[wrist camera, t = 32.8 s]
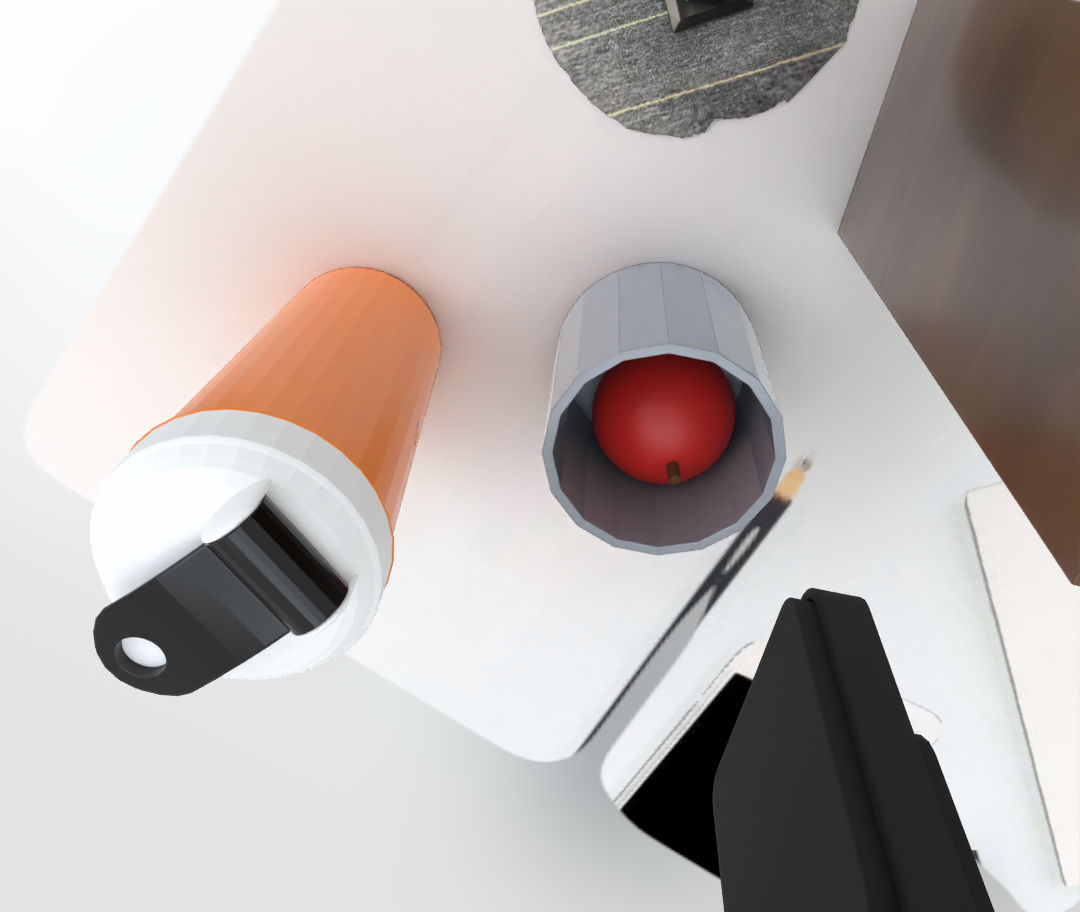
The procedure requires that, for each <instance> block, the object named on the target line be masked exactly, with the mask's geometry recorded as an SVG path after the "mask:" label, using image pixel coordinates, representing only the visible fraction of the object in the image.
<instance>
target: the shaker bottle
mask: <svg viewBox="0 0 1080 912" xmlns="http://www.w3.org/2000/svg"><path fill="white" fill-rule="evenodd" d="M440 353H441V342H440V336H439V330H438V327H437V325H436V322H435V319H434V317H433V315H432V313H431V311H430V310H429V308H428V307H427V305H426V303H425V302H424V301H423V300H422V299H421V297H420V296H419V295H418V294H417V293H416V292H415V291H414V290H413V289H411V288H410V287H409V286H408V285H406V284H405V283H404V282H402V281H401V280H399V279H397V278H395V277H393V276H391V275H389V274H387V273H384V272H380V271H377V270H374V269H368V268H359V267H353V268H341V269H337V270H334V271H330V272H327V273H325V274H323V275H321V276H319V277H317V278H315V279H314V280H312V281H311V282H310V283H309V284H308V285H307V286H305V287H304V288H303V289H302V290H301V291H300V292H299V293H298V294H297V295H296V296H295V297H294V298H293V299H292V300H291V301H290V302H289V303H288V304H287V305H286V306H285V307H284V308H283V309H282V310H281V311H280V312H279V313H278V314H277V315H276V316H275V317H274V318H273V319H272V320H271V321H270V322H269V323H268V324H267V325H266V326H265V327H264V328H263V329H262V330H261V331H260V332H259V333H258V334H257V335H256V336H255V337H254V338H253V339H252V340H251V341H250V342H249V343H248V344H247V345H246V346H245V347H244V348H243V349H242V350H241V351H240V352H239V353H238V354H237V355H236V356H235V357H234V358H233V359H232V360H231V361H230V362H229V363H228V364H227V365H226V366H225V367H224V368H223V369H222V370H221V371H220V372H219V373H218V374H217V375H216V376H215V377H213V378H212V379H211V380H210V381H209V382H208V383H207V384H206V385H205V386H204V387H203V388H202V389H201V390H200V391H199V392H198V393H197V394H196V395H195V396H194V397H193V398H192V399H191V400H190V401H189V402H188V403H187V404H186V405H185V406H184V407H183V408H182V409H181V410H180V411H179V412H178V413H177V414H176V415H175V416H174V417H173V418H171V419H169V420H167V421H165V422H164V423H162V424H160V425H158V426H156V427H154V428H153V429H151V430H150V431H149V432H148V433H147V434H146V435H145V436H143V437H142V438H141V439H140V440H139V441H138V442H136V443H135V445H134V446H133V447H132V449H131V450H130V452H129V453H128V455H127V456H126V457H125V458H124V459H123V460H122V461H121V463H120V464H119V465H118V466H117V467H116V468H115V469H114V470H113V472H112V473H111V474H110V476H109V477H108V479H107V480H106V482H105V483H104V485H103V486H102V488H101V489H100V490H99V492H98V495H97V498H96V501H95V504H94V507H93V510H92V513H91V526H90V540H91V546H92V552H93V558H94V562H95V564H96V567H97V570H98V573H99V576H100V578H101V580H102V583H103V585H104V588H105V591H106V593H107V595H108V597H109V599H110V600H111V602H112V603H111V604H110V605H108V606H107V607H105V608H104V609H103V610H102V611H101V612H100V614H99V615H98V616H97V617H96V620H95V625H94V630H93V634H94V641H95V648H96V652H97V654H98V656H99V658H100V659H101V661H102V663H103V665H104V666H105V668H106V669H107V670H109V671H110V672H111V673H112V674H113V675H114V676H115V677H116V678H118V679H119V680H120V681H122V682H124V683H126V684H128V685H130V686H132V687H134V688H137V689H139V690H142V691H146V692H151V693H155V694H159V695H170V696H180V695H184V694H189V693H192V692H194V691H196V690H198V689H199V688H201V687H203V686H205V685H207V684H208V683H210V682H212V681H214V680H216V679H217V678H219V677H226V678H236V679H244V680H261V679H274V678H279V677H284V676H289V675H294V674H298V673H301V672H304V671H308V670H310V669H313V668H316V667H318V666H321V665H323V664H326V663H328V662H330V661H332V660H334V659H335V658H337V657H338V656H340V655H341V654H343V653H344V652H346V651H347V650H349V649H350V648H351V647H352V646H353V645H354V644H355V643H356V642H357V641H358V640H359V639H360V638H361V637H362V636H363V634H364V633H365V632H366V630H367V628H368V627H369V625H370V623H371V621H372V620H373V618H374V616H375V614H376V611H377V609H378V606H379V603H380V600H381V597H382V594H383V591H384V588H385V586H386V585H387V583H388V580H389V576H390V572H391V569H392V565H393V561H394V536H393V532H394V528H395V525H396V521H397V517H398V514H399V510H400V506H401V502H402V499H403V495H404V491H405V488H406V484H407V480H408V476H409V473H410V469H411V465H412V461H413V458H414V454H415V450H416V447H417V443H418V439H419V435H420V432H421V428H422V424H423V421H424V417H425V413H426V409H427V406H428V402H429V398H430V395H431V391H432V387H433V383H434V380H435V376H436V372H437V369H438V365H439V361H440Z"/></svg>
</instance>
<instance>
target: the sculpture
mask: <svg viewBox="0 0 1080 912" xmlns="http://www.w3.org/2000/svg"><path fill="white" fill-rule="evenodd" d="M858 1H859V0H535V6H536V7H537V9H536V14H537V18H538V19H539V23H540V25H541V27H542V32H543V34H544V35H545V37H546V42H547V44H548V46H549V47H550V49H551V51H552V52H553V55H554V57H555V59H556V60H557V62H558V63H559V65H560V66H561V67H562V68H563V69H564V70H565V71H566V72H567V73H568V74H569V76H570V78H571V81H572V82H573V83H574V84H575V85H576V86H577V87H578V88H579V89H580V90H581V91H582V92H583V93H584V94H585V95H586V96H587V97H588V99H589V100H590V101H591V102H592V103H593V104H594V105H595V106H597V107H598V108H599V109H600V110H602V111H603V112H604V113H606V114H607V115H608V116H609V117H612V118H614V119H616V120H618V121H619V122H620V123H621V124H623V125H624V126H625V127H626V128H627V129H632V130H636V131H641V132H644V133H651V134H662V135H671V136H675V137H680V138H685V137H692V136H693V135H694V134H700V133H701V132H705V131H706V129H707V128H708V126H709V125H710V123H711V122H712V121H713V120H714V119H717V118H723V119H727V118H729V119H731V118H741V117H750V116H752V115H753V114H757V113H761V112H764V111H766V110H768V109H770V108H772V107H774V106H776V105H777V103H778V102H780V101H782V100H784V101H786V102H787V103H788V102H789V101H790V99H791V98H792V97H793V96H794V95H795V94H796V93H797V92H798V91H799V90H800V89H801V88H802V87H803V86H804V85H805V84H806V83H807V82H808V81H809V80H810V79H811V78H812V77H813V76H814V75H815V74H816V73H817V72H818V70H819V69H820V68H821V67H822V66H823V65H824V64H825V63H826V62H827V61H828V60H829V59H830V58H831V57H832V56H833V55H834V53H835V52H836V51H837V50H838V49H839V48H840V47H841V46H842V45H843V44H844V43H845V42H846V41H847V40H846V33H847V32H848V27H849V24H850V22H851V21H852V19H853V18H854V15H855V11H856V8H857V7H856V5H857V3H858Z"/></svg>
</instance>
